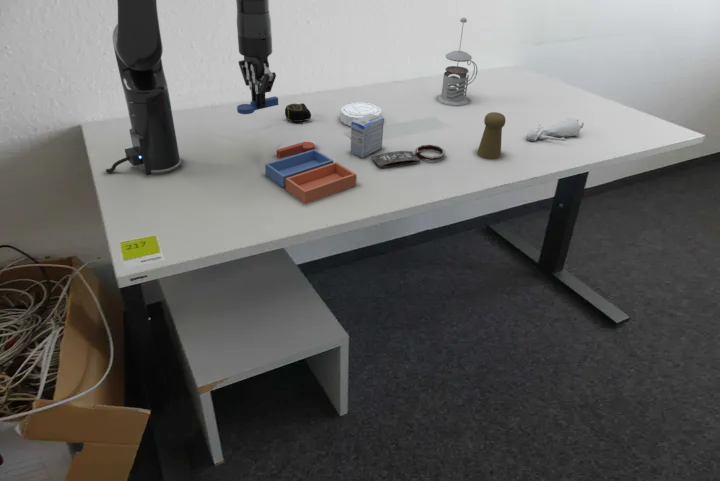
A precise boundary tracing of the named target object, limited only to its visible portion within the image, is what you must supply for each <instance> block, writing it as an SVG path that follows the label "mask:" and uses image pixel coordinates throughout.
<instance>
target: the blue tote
mask: <svg viewBox="0 0 720 481" xmlns="http://www.w3.org/2000/svg"><path fill="white" fill-rule="evenodd" d="M331 163H334V160H333V159H332V158H330V156H329V157H328V156H327V155H326V154H324V153H322V152H320V151H319V150H317V149H316V148H315V149H314V150H310V151H307V152H299V153H296V154H293V155H289V156H286V157H283V158H279V159H278V160H274V161H271V162H267V163H265V164H264V166H265V176H266V177H267V178H269V179H270V180H272V181H273V182H274V183H275V184H277V185H279V187H281V188H282V189H286V178H288V177H291V176H294V175H297V174H301V173H304V172H307V171H310V170H313V169H316V168H319V167H322V166H325V165H328V164H331Z"/></svg>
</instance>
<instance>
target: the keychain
mask: <svg viewBox="0 0 720 481" xmlns="http://www.w3.org/2000/svg"><path fill="white" fill-rule="evenodd" d="M428 150H429V151H435V152H438V153H440V154H439V155H427V154H422V153H421V152H422V151H428ZM445 155H446V151H445V149H444V148H442V147H441V146H438V145H435V144H421V145H418V146H417V147H416V148H415V152H413V151H411V150H396V151H395V150H394V151H389V152H383V153H379V154H376V155H372V156H371V159H372V160H373V161H374V163H375V164H376V165H377V166H378V167H379V168H395V167H405V166H410V165H414V164H416V163H420V162H422V160H423V161H426V162H439V161H441V160H443V159H444V158H445Z"/></svg>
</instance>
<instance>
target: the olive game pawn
mask: <svg viewBox="0 0 720 481" xmlns="http://www.w3.org/2000/svg"><path fill="white" fill-rule="evenodd" d="M483 122H484V130H483V133H482V137H481V139H480V142H479V146H478V149H477V151H476V152H477V156H478V157H480V158H482V159H486V160H497V159H499V158H501V154H502V153H501V152H502V136H503V128H504V127H505V126H506V116H505V115H504V114H503V113H501V112H497V111H494V112H493V111H491V112H488V113H487V114H486V115H485V116H484V119H483Z"/></svg>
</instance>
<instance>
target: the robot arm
mask: <svg viewBox="0 0 720 481" xmlns="http://www.w3.org/2000/svg"><path fill="white" fill-rule="evenodd" d="M116 1H117V24H116V25H115V27H114V29H113V31H112V46H113V51H114V56H115V59H116V63H117V64H116V65H117V68H118V73H119V76H120V77H119V78H120V83H121V86H122V90H123V93H124V100H125V103H126V107H127V108H126V109H127V113H128V117H129V122H130V126H131V128H129V135H130V141H131V144H132V147H128V148H124V153H125V157H123V158H122V159H119V160H117V161H115V162H114V163H113V164H112V166H111V168H106V169H105V172H106V173H112V172H114V171H115V170H116V168H117V167H118V166H119V165H120V164H123V163H125V162H129V163H130V164H131V165H132V166H133V167H137V168H138V169H139V170H140V172H142V173H143V174H144V175H145V176H150V175H165V174H169V173H172V172H175V171H176V170H178V169H179V168H180V167H181V165H182V162H181V157H180V152H179V146H178V141H177V135H176V129H175V122H174V116H173V111H172V110H173V109H172V105H171V98H170V93H169V92H170V91H169V86H168V82H167V79H166V74H165V70H164V67H163V66H164V65H163V60H162V56H163V51H164V48H163V46H164V45H163V41H162V34H161V29H160V22H159V13H158V5H157V4H158V2H157V1H158V0H116ZM235 4H236V29H237V30H236V32H237V33H236V34H237V44H238V45H237V46H238V53H239V55H241V56H243V59H241V60H238V66H239V69H240V72H241V75H242V78H243V80H244V84H245V87H246V86H247V87H248V89H249V90H250V93H251V102H252V101H256V107H257V108H258V110H262V109H261V108H263V109H266V108H265V107H266V101H265V99H266V93H271V91H272V88H273V86H274V83H275V80H276V77H277V73H276V72H273V71H271V70H270V63H269V59H268V58H269V56H270V55H272V53H273V36H272V34H273V33H272V20H271V12H270V0H235Z"/></svg>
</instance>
